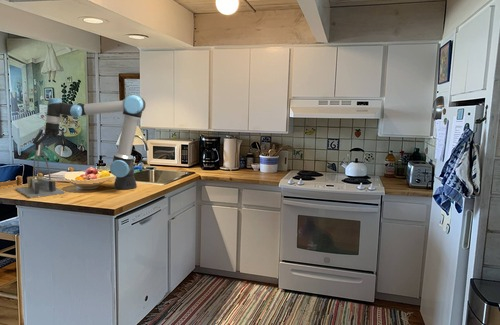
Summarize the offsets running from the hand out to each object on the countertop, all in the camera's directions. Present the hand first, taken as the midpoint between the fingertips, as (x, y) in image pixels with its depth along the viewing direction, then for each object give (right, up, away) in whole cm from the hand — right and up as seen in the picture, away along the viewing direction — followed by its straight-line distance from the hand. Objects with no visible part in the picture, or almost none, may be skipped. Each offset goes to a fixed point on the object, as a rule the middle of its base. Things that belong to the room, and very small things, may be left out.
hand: (49, 155), depth 229 cm
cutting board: (-8, -23, +3) cm, 25 cm away
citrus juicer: (-23, -20, +28) cm, 41 cm away
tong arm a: (-4, -21, +3) cm, 22 cm away
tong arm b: (-8, -22, -1) cm, 23 cm away
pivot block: (-15, -21, +10) cm, 28 cm away
